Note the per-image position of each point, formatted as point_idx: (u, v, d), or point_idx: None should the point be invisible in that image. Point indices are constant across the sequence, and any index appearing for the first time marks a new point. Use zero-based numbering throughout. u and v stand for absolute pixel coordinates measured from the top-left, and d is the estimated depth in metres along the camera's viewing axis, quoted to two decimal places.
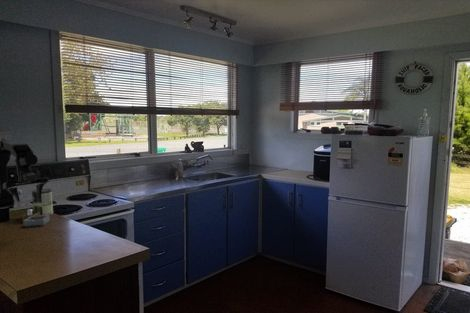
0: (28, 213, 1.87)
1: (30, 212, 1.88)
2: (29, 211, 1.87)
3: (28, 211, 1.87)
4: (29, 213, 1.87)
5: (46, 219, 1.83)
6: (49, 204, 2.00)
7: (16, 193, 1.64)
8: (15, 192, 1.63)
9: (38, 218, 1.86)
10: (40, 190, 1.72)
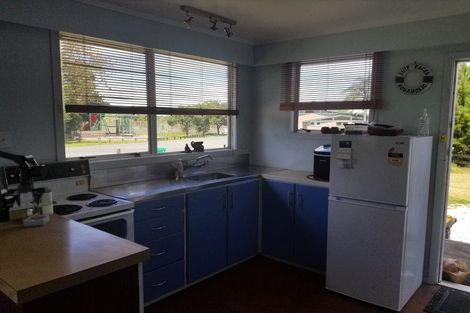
0: (28, 213, 1.87)
1: (30, 212, 1.88)
2: (29, 211, 1.87)
3: (28, 211, 1.87)
4: (29, 213, 1.87)
5: (46, 219, 1.83)
6: (49, 204, 2.00)
7: (16, 199, 1.85)
8: (15, 198, 1.85)
9: (38, 218, 1.86)
10: (38, 199, 1.88)
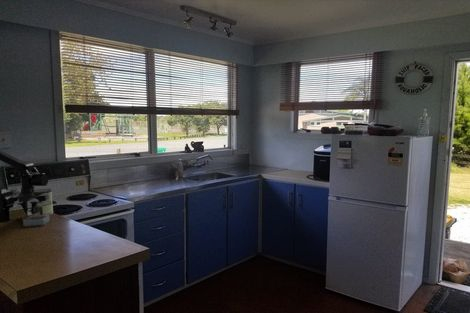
0: (28, 213, 1.87)
1: (30, 212, 1.88)
2: (29, 211, 1.87)
3: (28, 211, 1.87)
4: (29, 213, 1.87)
5: (46, 219, 1.83)
6: (49, 204, 2.00)
7: (23, 207, 1.86)
8: (23, 206, 1.86)
9: (38, 218, 1.86)
10: (32, 207, 1.87)
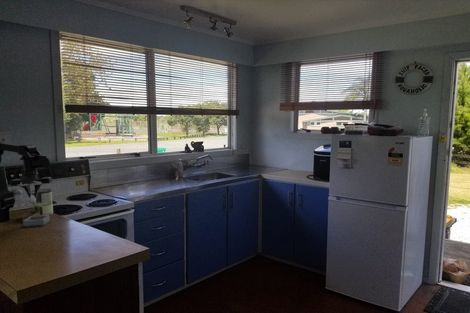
0: (31, 196, 1.83)
1: (33, 195, 1.83)
2: (32, 194, 1.83)
3: (31, 194, 1.82)
4: (32, 196, 1.83)
5: (46, 219, 1.83)
6: (49, 204, 2.00)
7: (26, 190, 1.82)
8: (26, 189, 1.81)
9: (38, 218, 1.86)
10: (35, 190, 1.83)
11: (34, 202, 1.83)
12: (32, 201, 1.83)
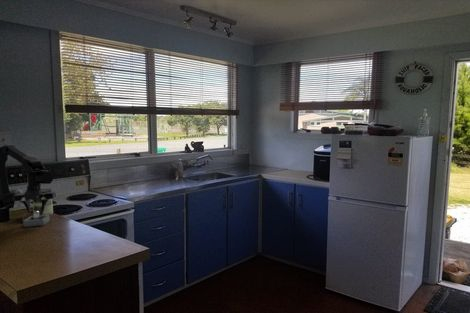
0: (34, 215, 1.80)
1: (37, 214, 1.81)
2: (36, 213, 1.80)
3: (34, 213, 1.80)
4: (36, 215, 1.81)
5: (46, 219, 1.83)
6: (49, 204, 2.00)
7: (26, 205, 1.79)
8: (25, 204, 1.79)
9: None
10: (43, 205, 1.81)
11: None
12: None
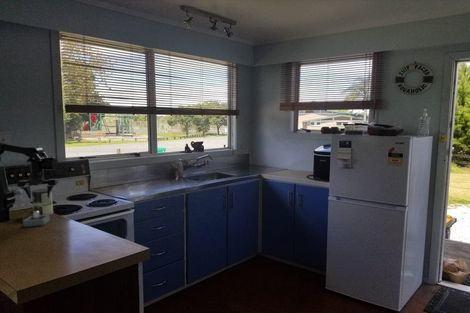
0: (35, 215, 1.81)
1: (37, 214, 1.81)
2: (36, 213, 1.81)
3: (34, 212, 1.81)
4: (36, 215, 1.81)
5: (46, 219, 1.83)
6: (49, 204, 2.00)
7: (27, 191, 1.85)
8: (26, 191, 1.85)
9: None
10: (48, 191, 1.88)
11: None
12: None
